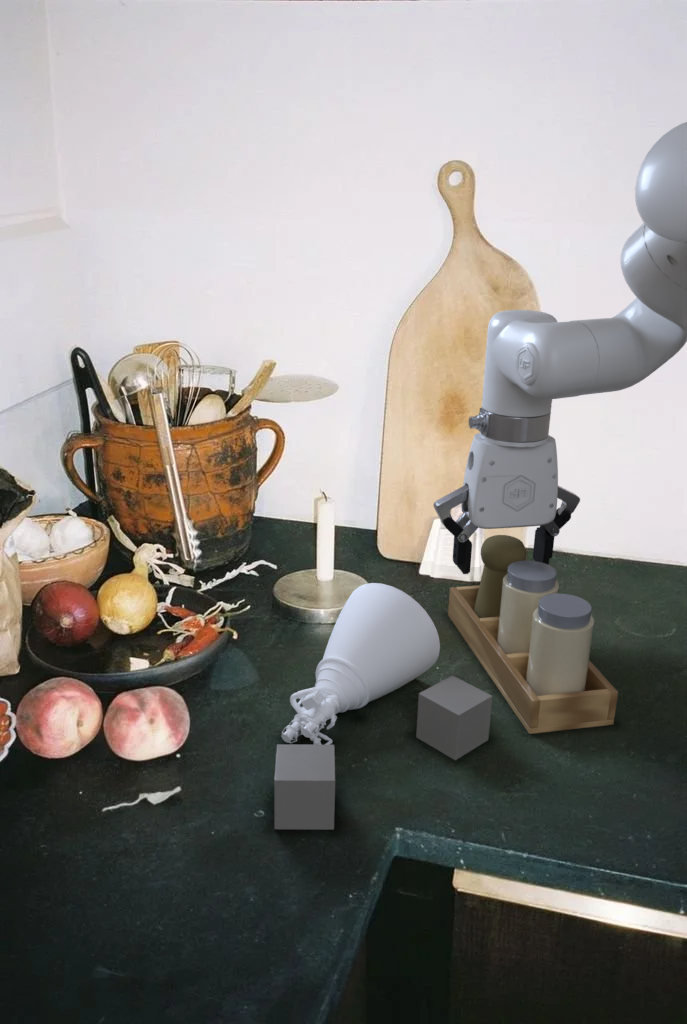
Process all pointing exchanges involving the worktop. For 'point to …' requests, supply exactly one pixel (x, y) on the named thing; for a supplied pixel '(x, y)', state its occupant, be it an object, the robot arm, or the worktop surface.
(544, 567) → the cream shaker
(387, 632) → the rocket engine
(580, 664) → the cream shaker
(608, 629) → the worktop surface
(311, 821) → the grey block
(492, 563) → the olive pepper mill
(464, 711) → the grey block
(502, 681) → the spice rack
